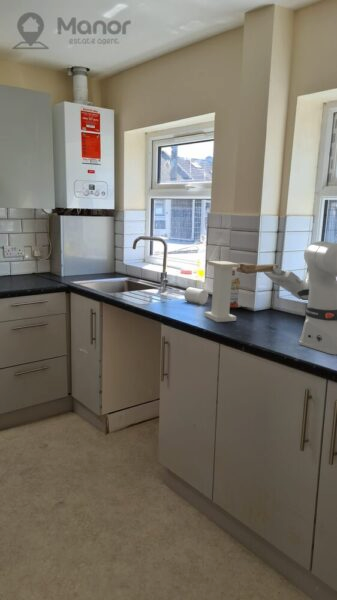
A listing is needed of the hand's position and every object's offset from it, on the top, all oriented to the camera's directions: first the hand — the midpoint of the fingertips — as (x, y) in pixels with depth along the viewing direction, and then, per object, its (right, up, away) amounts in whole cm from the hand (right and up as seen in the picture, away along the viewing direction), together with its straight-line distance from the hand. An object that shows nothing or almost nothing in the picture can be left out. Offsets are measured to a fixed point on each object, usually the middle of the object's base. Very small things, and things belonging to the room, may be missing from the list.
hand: (270, 266), depth 217 cm
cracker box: (-15, -20, +21) cm, 33 cm away
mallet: (-6, -2, -2) cm, 7 cm away
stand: (-25, -24, -7) cm, 36 cm away
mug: (-33, -18, +28) cm, 47 cm away
